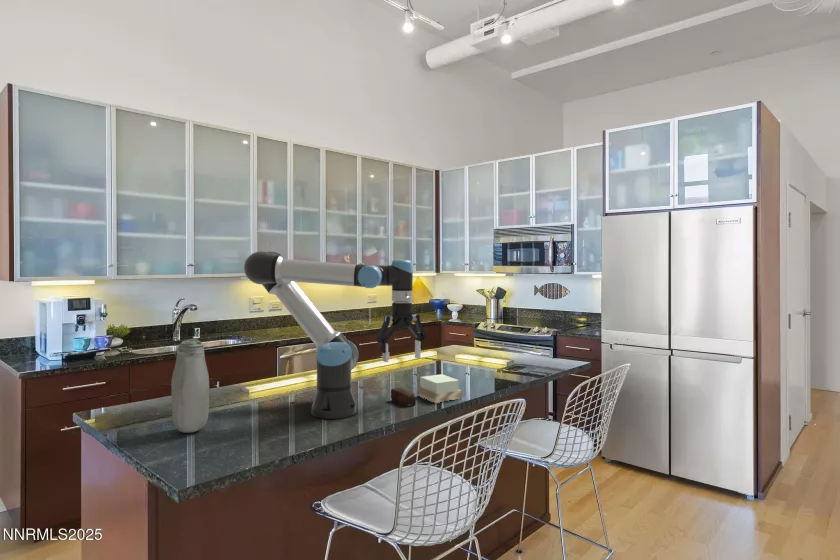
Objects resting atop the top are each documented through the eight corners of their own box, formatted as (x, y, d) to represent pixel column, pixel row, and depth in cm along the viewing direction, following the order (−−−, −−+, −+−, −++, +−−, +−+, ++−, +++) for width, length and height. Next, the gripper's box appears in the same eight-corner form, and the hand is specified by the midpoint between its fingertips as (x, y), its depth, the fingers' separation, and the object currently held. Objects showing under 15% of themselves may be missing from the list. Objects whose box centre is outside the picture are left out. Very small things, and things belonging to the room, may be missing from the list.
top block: (436, 393, 192) (436, 383, 192) (420, 387, 202) (420, 376, 202) (458, 390, 197) (458, 380, 197) (442, 384, 207) (442, 374, 207)
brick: (390, 401, 194) (390, 388, 194) (398, 399, 197) (399, 387, 197) (407, 407, 186) (407, 394, 186) (416, 406, 189) (416, 393, 188)
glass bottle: (202, 436, 153) (201, 342, 152) (166, 436, 152) (165, 341, 151) (213, 426, 163) (213, 337, 162) (180, 426, 162) (179, 337, 161)
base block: (435, 404, 192) (435, 394, 192) (418, 397, 202) (418, 387, 202) (461, 400, 198) (461, 390, 198) (444, 393, 208) (444, 383, 208)
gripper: (376, 304, 180) (376, 364, 181) (436, 301, 193) (435, 358, 194) (366, 302, 186) (366, 361, 187) (425, 300, 200) (425, 355, 200)
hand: (401, 359), depth 191 cm, fingers open, 13 cm apart
